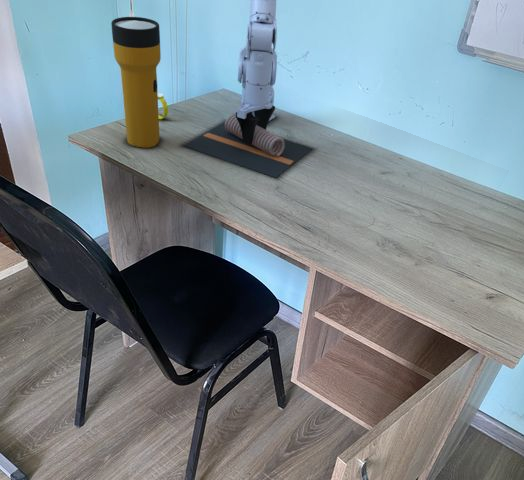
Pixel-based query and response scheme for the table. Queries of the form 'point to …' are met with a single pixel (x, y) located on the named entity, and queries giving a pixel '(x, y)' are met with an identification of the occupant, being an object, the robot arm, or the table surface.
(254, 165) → the mat
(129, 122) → the flashlight
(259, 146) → the coil
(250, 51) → the robot arm
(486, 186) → the table surface
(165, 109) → the watch
